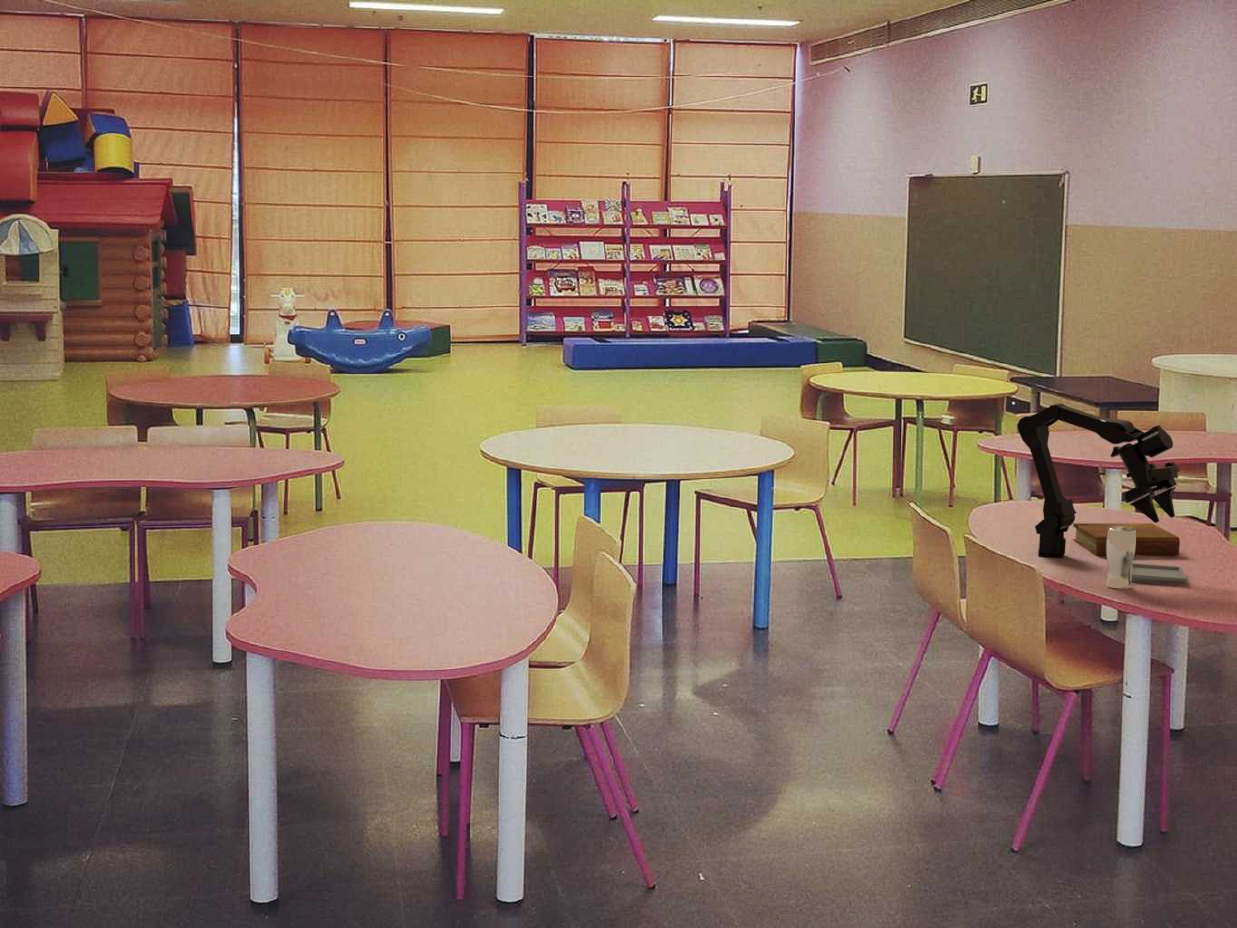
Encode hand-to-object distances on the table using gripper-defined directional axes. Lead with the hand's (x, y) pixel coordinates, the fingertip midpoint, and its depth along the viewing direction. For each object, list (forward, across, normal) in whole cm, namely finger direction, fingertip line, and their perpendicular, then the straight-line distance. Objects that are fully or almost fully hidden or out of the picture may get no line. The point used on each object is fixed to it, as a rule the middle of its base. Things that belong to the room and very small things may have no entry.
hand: (1165, 519), depth 357 cm
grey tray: (+13, -3, +8) cm, 15 cm away
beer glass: (+11, -19, +10) cm, 24 cm away
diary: (+2, +23, +26) cm, 35 cm away
